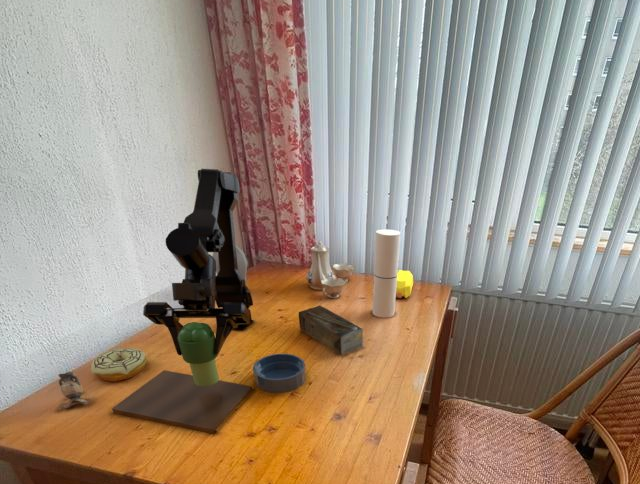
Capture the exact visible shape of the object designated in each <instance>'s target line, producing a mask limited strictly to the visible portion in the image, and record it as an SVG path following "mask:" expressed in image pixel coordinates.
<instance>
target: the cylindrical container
mask: <svg viewBox="0 0 640 484" xmlns="http://www.w3.org/2000/svg"><path fill="white" fill-rule="evenodd" d="M401 235H402V233H401V231H399V230H396V229H389V228H384V229H376V230H375V241H374V242H375V243H374V265H373V266H374V267H373V287H372V288H373V289H372V311H371V312H372V313H371V314H372V315H373V316H375V317H377V318H383V319H385V318H391V317H393V316H395V310H396V298H397V297H396V286H397V273H398V271H399V258H400V245H401Z"/></svg>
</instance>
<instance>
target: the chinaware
mask: <svg viewBox="0 0 640 484" xmlns="http://www.w3.org/2000/svg"><path fill="white" fill-rule="evenodd" d="M310 250H311V254H312V259H311V260H312V261H311V266H310V268H309V270H308V272H307V274H306V276H305V279H306V281H307V282H308V284H309V287H310V289H312V290H316V291H322V296H323V297H324V298H325V297H328V298H330V299H338V298H339V296H340V295H341V294H342V292H343V291H344V289H345V285H347V282H348V281H349V278H351V277H352V275H353V272H354V270H355V264H348V263H347V262H340V263H333V264H332V268H331V266H330V261H329V251H330V248H329V247H328V246H326V245H324V244H323V242H322V241H321V240H318V242H317V244H315V245H314V246H312V247H310ZM332 269H333V271H332ZM325 293H326V295H325Z"/></svg>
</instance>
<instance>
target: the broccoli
mask: <svg viewBox="0 0 640 484" xmlns="http://www.w3.org/2000/svg"><path fill="white" fill-rule="evenodd" d="M215 337H216V334H215V332H214V331H213V329H212V327H211V326H210V325H209V324H208V323H206V322H198V321H192V322H191V321H190V322H187V323H185V324H184V325H183V328H182V330H180V332H179V334H178V337H177V339H178V342H179V346H180V350H181V353H182V355H181V356H182V360H183V361H184V362H185V363H187V364H189V367H190V371H191V375H193V378H194V382H195V384H196V385H198V386H210V385H213V384H215V383H216V382H218V380H220V375H219V372H218V367H217V362H216V358H217V357H218V356H219V354H218V355H216V354H215Z"/></svg>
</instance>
